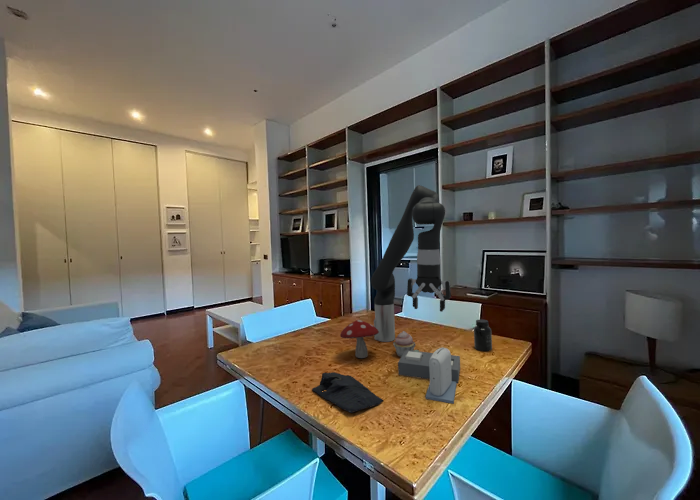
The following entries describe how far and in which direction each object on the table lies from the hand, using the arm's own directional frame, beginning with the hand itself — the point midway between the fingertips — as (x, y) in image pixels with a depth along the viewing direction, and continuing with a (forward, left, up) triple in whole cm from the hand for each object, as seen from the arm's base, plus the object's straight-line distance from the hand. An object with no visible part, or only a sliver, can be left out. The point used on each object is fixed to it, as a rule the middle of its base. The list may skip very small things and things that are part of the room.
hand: (428, 309), depth 100 cm
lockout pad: (+4, -8, -24) cm, 25 cm away
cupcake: (-13, +17, -24) cm, 32 cm away
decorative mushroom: (-30, +10, -24) cm, 40 cm away
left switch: (-7, +5, -21) cm, 22 cm away
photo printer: (+4, -8, -23) cm, 25 cm away
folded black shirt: (-23, -20, -24) cm, 39 cm away
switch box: (-1, +5, -24) cm, 24 cm away
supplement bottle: (+17, +33, -24) cm, 44 cm away
